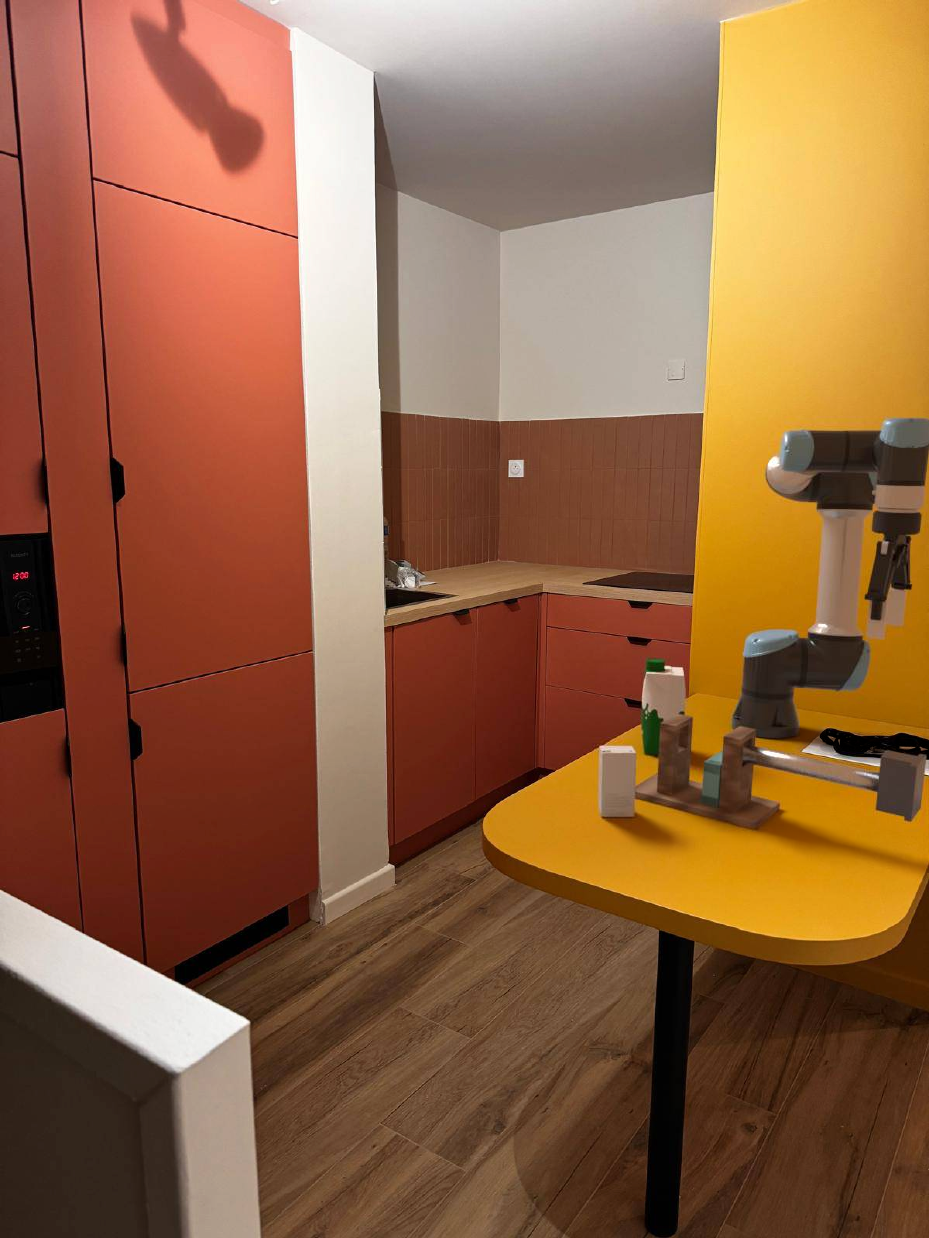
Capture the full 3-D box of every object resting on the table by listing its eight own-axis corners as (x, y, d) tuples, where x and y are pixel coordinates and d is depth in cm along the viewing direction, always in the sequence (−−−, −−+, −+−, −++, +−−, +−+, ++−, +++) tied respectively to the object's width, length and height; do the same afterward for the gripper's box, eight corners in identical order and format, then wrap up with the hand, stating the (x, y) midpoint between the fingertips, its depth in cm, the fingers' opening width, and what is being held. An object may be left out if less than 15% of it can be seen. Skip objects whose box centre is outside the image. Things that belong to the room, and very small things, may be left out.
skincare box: (630, 808, 157) (633, 744, 155) (635, 818, 153) (638, 752, 150) (596, 808, 157) (598, 744, 155) (599, 818, 153) (602, 752, 151)
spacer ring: (701, 804, 156) (703, 761, 155) (718, 791, 162) (721, 750, 161) (717, 808, 154) (720, 765, 153) (734, 795, 161) (737, 753, 159)
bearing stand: (629, 795, 163) (632, 721, 160) (657, 778, 172) (661, 707, 170) (755, 829, 148) (761, 748, 146) (779, 808, 158) (785, 731, 155)
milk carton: (639, 742, 194) (644, 655, 190) (681, 745, 192) (686, 657, 189) (639, 755, 186) (644, 664, 182) (683, 758, 184) (688, 666, 180)
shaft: (727, 778, 153) (730, 729, 151) (742, 767, 158) (745, 720, 157) (911, 821, 135) (917, 766, 133) (920, 808, 140) (926, 755, 139)
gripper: (891, 505, 160) (879, 617, 165) (854, 513, 141) (842, 640, 146) (936, 507, 156) (923, 622, 160) (904, 516, 137) (890, 647, 141)
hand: (884, 631), depth 153 cm, fingers open, 13 cm apart
